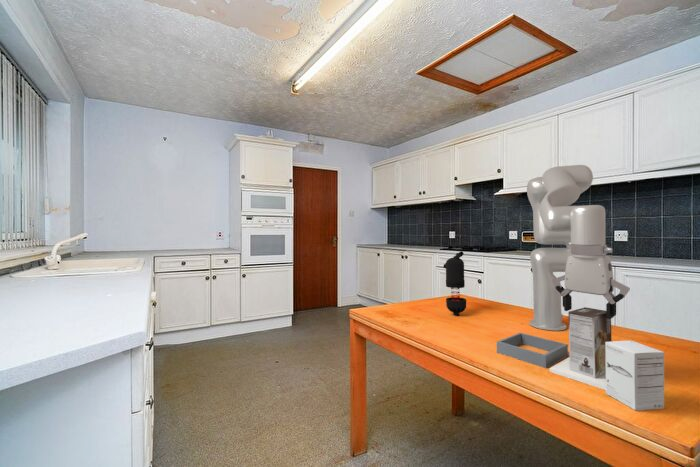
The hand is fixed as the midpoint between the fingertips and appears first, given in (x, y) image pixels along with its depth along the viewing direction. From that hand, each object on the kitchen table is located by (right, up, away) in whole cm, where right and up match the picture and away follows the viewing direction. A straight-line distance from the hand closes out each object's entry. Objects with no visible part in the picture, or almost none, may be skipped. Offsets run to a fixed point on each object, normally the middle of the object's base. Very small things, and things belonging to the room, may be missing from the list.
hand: (588, 313), depth 86 cm
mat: (0, -16, 0) cm, 16 cm away
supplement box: (0, -17, -14) cm, 22 cm away
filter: (-16, -16, +61) cm, 66 cm away
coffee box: (0, -15, 0) cm, 15 cm away
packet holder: (-7, -16, +14) cm, 23 cm away
